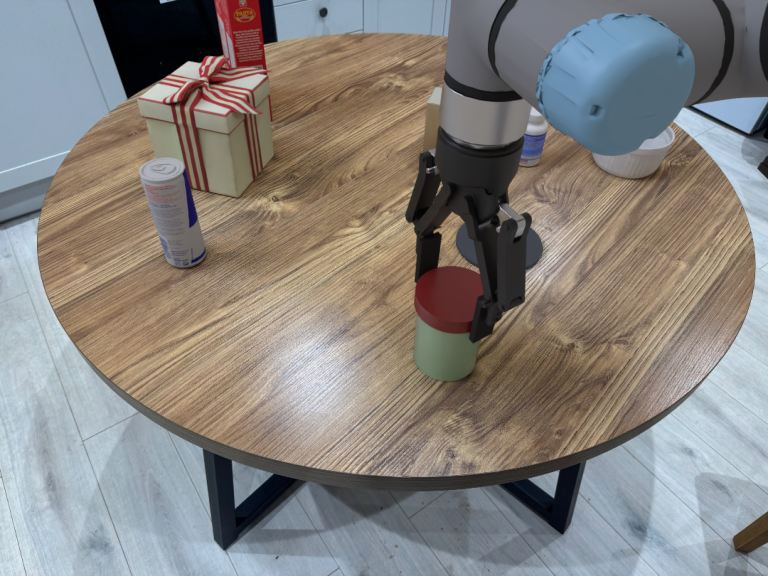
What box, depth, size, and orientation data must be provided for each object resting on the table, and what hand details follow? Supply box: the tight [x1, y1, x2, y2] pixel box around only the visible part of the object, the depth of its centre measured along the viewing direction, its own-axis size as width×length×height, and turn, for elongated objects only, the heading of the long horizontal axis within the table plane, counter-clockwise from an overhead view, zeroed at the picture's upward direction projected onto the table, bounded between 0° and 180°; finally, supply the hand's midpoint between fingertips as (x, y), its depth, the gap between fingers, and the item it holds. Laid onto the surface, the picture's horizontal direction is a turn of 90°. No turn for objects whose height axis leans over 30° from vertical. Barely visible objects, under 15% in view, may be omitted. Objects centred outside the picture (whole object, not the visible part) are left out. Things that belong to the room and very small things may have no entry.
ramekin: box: [591, 125, 676, 180], centre depth 101 cm, size 13×13×7 cm
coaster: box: [455, 220, 544, 271], centre depth 86 cm, size 13×13×1 cm
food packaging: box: [213, 0, 274, 123], centre depth 106 cm, size 15×5×25 cm, turn 23°
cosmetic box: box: [422, 86, 442, 153], centre depth 99 cm, size 6×4×12 cm
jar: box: [412, 313, 482, 382], centre depth 67 cm, size 8×8×11 cm
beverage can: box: [138, 158, 207, 269], centre depth 77 cm, size 6×6×15 cm
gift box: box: [136, 55, 275, 199], centre depth 93 cm, size 17×18×17 cm
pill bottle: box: [519, 107, 549, 168], centre depth 100 cm, size 5×5×10 cm
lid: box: [413, 265, 483, 334], centre depth 63 cm, size 9×9×2 cm
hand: (451, 306), depth 65 cm, fingers open, 10 cm apart
